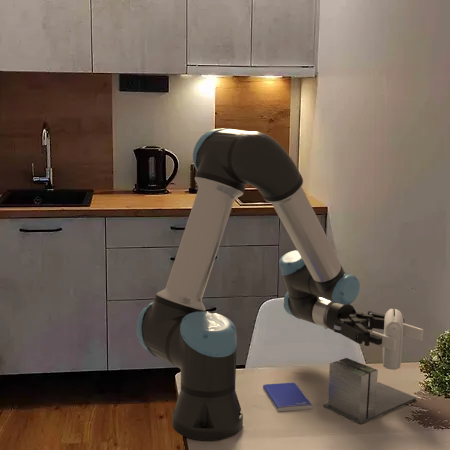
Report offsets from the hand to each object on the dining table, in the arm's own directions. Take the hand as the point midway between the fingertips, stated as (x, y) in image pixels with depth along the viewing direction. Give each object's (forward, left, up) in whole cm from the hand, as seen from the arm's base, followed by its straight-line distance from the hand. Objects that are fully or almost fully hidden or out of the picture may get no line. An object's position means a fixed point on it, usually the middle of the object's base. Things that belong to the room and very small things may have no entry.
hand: (408, 339), depth 164 cm
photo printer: (0, +4, -7) cm, 8 cm away
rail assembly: (-7, +4, -15) cm, 17 cm away
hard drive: (-20, +18, -16) cm, 32 cm away
